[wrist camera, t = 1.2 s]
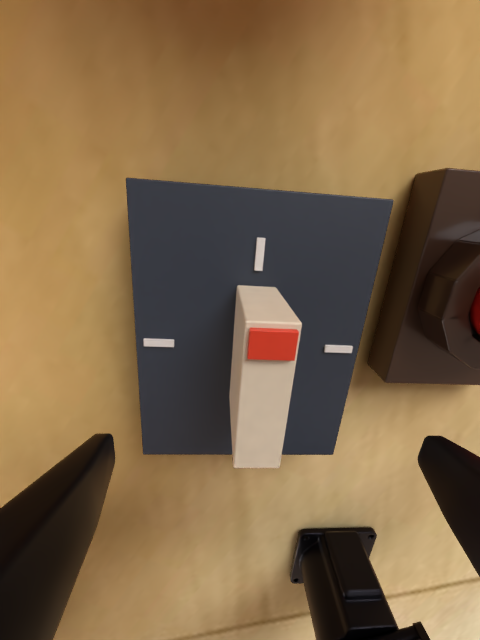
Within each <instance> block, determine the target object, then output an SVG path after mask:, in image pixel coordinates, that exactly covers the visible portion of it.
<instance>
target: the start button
mask: <svg viewBox="0 0 480 640" xmlns="http://www.w3.org/2000/svg"><path fill="white" fill-rule="evenodd" d="M470 321H471V325H472V327H473V329H474V330H475V331H476V333H477V334H478V335H479V336H480V287H479V289H478V290H477V292H476V295H475V297H474V300H473V303H472V305H471V308H470Z"/></svg>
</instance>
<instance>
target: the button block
mask: <svg viewBox="0 0 480 640" xmlns="http://www.w3.org/2000/svg"><path fill="white" fill-rule="evenodd" d="M479 287H480V171H475V170H464V169H453V168H445V169H439V170H434V171H428V172H423V173H418V174H416V177H415V180H414V184H413V188H412V192H411V196H410V200H409V204H408V208H407V212H406V216H405V219H404V223H403V227H402V231H401V235H400V239H399V243H398V247H397V251H396V254H395V258H394V262H393V266H392V270H391V274H390V278H389V282H388V286H387V290H386V293H385V297H384V301H383V305H382V309H381V313H380V317H379V321H378V325H377V328H376V332H375V336H374V340H373V344H372V348H371V352H370V356H369V360H368V365H369V366H370V367H371V368H372V369H373V370H374V371H375V372H376V373H377V375H378V376H379V377H380V378H381V379H382V380H383V381H384V382H386V383H417V384H459V385H480V336H479V335H478V334H477V333H476V331H475V330H474V329H473V327H472V325H471V321H470V308H471V305H472V303H473V300H474V297H475V295H476V292H477V290H478V289H479Z"/></svg>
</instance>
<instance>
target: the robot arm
mask: <svg viewBox="0 0 480 640" xmlns="http://www.w3.org/2000/svg"><path fill="white" fill-rule="evenodd" d="M418 463H419V466H420V468H421V470H422V472H423V474H424V477H425V479H426V481H427V483H428V485H429V487H430V489H431V491H432V493H433V495H434V497H435V499H436V501H437V503H438V505H439V507H440V509H441V511H442V513H443V515H444V517H445V519H446V521H447V522H448V524H449V526H450V528H451V529H452V531H453V533H454V535H455V536H456V538H457V540H458V541H459V543H460V545H461V546H462V548H463V550H464V551H465V553H466V555H467V556H468V558H469V560H470V561H471V563H472V565H473V566H474V568H475V570H476V572H477V573H478V575H479V577H480V457H479V456H477V455H475V454H473V453H471V452H470V451H468V450H466V449H464V448H462V447H461V446H459V445H457V444H455V443H453V442H452V441H450V440H448V439H446V438H444V437H442V436H427V437H426V438H425V439H424V441H423V444H422V447H421V449H420V452H419V455H418ZM114 464H115V451H114V442H113V436H112V435H111V434H95V435H93V436H92V437H91V438H89V439H88V440H87V441H86V442H84V443H83V444H82V445H81V446H79V447H78V448H77V449H75V450H74V451H73V452H72V453H70V454H69V455H68V456H67V457H65V458H64V459H63V460H61V461H60V462H59V463H58V464H56V465H55V466H54V467H53V468H51V469H50V470H49V471H47V472H46V473H45V474H44V475H42V476H41V477H40V478H39V479H37V480H36V481H35V482H33V483H32V484H31V485H30V486H28V487H27V488H26V489H25V490H23V491H22V492H21V493H19V494H18V495H17V496H16V497H14V498H13V499H12V500H11V501H9V502H8V503H7V504H5V505H4V506H3V507H2V508H0V640H53V638H54V635H55V632H56V630H57V627H58V625H59V622H60V620H61V617H62V615H63V612H64V610H65V607H66V604H67V602H68V599H69V597H70V594H71V592H72V589H73V587H74V584H75V582H76V579H77V576H78V574H79V571H80V569H81V566H82V564H83V561H84V559H85V556H86V554H87V551H88V548H89V546H90V543H91V541H92V538H93V536H94V533H95V530H96V527H97V524H98V521H99V517H100V514H101V510H102V507H103V503H104V500H105V496H106V493H107V489H108V486H109V482H110V479H111V475H112V472H113V468H114ZM376 536H377V535H376V533H375V531H374V529H373V528H328V529H303V530H301V531H299V533H298V538H297V543H296V547H295V552H294V557H293V562H292V566H291V571H290V580H291V582H292V583H295V584H297V583H304V587H305V591H306V596H307V600H308V605H309V609H310V614H311V618H312V623H313V627H314V631H315V636H316V640H430V638H429V636H428V634H427V633H426V631H425V629H424V627H423V625H422V623H421V622H417V623H413V626H410V627H406V628H402V629H399V628H398V626H397V624H396V621H395V619H394V617H393V614H392V612H391V610H390V607H389V605H388V602H387V600H386V598H385V595H384V593H383V591H382V588H381V586H380V583H379V581H378V579H377V576H376V574H375V572H374V569H373V567H372V565H371V562H370V560H369V556H370V553H371V551H372V548H373V545H374V542H375V539H376Z"/></svg>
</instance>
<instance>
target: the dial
mask: <svg viewBox="0 0 480 640" xmlns="http://www.w3.org/2000/svg"><path fill="white" fill-rule="evenodd" d="M301 328H302V323H301V321H300V320H299V319H298V317H297V316H296V315H295V313H294V312H293V310H292V309H291V308H290V306H289V305H288V303H287V302H286V301H285V299H284V298H283V297H282V295H281V294H280V292H279V291H278V290H277V288H276V287H263V286H244V285H238V286H237V291H236V306H235V321H234V335H233V350H232V365H231V380H230V394H229V399H230V418H231V437H232V455H233V467H234V468H279V467H280V462H281V455H282V449H283V443H284V436H285V430H286V423H287V417H288V411H289V404H290V398H291V392H292V385H293V379H294V373H295V366H296V360H297V354H298V347H299V341H300V334H301Z"/></svg>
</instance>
